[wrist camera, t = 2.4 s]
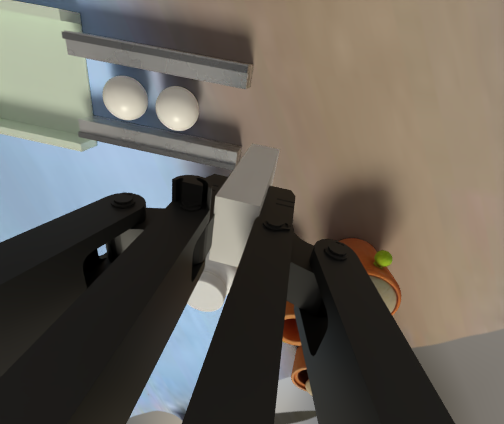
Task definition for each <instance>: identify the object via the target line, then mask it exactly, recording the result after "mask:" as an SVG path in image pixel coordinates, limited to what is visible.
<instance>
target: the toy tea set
mask: <svg viewBox="0 0 504 424" xmlns="http://www.w3.org/2000/svg"><path fill="white" fill-rule="evenodd" d="M339 242H342V243H344V244H346V245H347V246H348V247H350V248H351V249H353V251H354V252H355V253H356V254H357V256H358V257H359V259H360V261H361V263H362V264H363V266H364V268H365V270H366V271H367V273H368V275H369V276H370V278H371V280H372V282H373V283H374V285H375V287H376V289H377V290H378V292H379V294H380V295H381V297H382V299H383V301H384V302H385V304H386V306H387V307H388V309H389V311H390V313H391V314H392V315H393V314H394V313H395V312H396V311H397V309H398V308H399V306H400V302H401V291H400V288H399V285H398V284H397V282H396V280H395V279H394V277H393V276H392V274H391V273H390V271H389V270H388V268H387V267H386V266H389V265H390V264H391V263H392V256H391V254H390V253H389V252H387V251H384V250H381V251H379V252H377V251H376V250H375V249H374V248H373V246H372V245H370V244H369V243H368V242H366V241H364V240H361V239H356V238H348V239H343V240H340V241H339ZM282 341H283V342H285V343H288V344H291V345H298V346H299V347H298V348H297V350H296V355H295V360H294V365H293V370H292V375H291V378H292V382H293V383H294V384H295V385H296V386H297V387H298V388H300V389H302V390H304V391H307V392H308V393H309V394H311V396H312V391H311V387H310V382H309V378H308V373H307V368H306V364H305V359H304V355H303V350H302V346H301V341H300V336H299V332H298V327H297V323H296V318H295V313H294V304H292V303H290V302H288V301H286V311H285V321H284V330H283V340H282Z"/></svg>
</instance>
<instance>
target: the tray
mask: <svg viewBox="0 0 504 424" xmlns="http://www.w3.org/2000/svg"><path fill="white" fill-rule="evenodd" d="M64 30H66V31H74V32H82V25H81V18H80V13H76V12H72V11H67V10H62V9H57V8H52V7H46V6H41V5H35V4H30V3H24V2H19V1H13V0H0V134H4V135H9V136H13V137H18V138H23V139H27V140H32V141H36V142H41V143H45V144H50V145H54V146H59V147H63V148H68V149H72V150H77V151H81V152H82V151H85V150H87V149H90V148H92V147H95V146H97V141H95V140H90V139H86V138H81V137H79V135H78V132H80V127H79V121H78V119H80V118H84V117H88V116H92V115H93V109H92V101H91V93H90V86H89V78H88V71H87V63H86V58H82V57H77V56H72V55H68V52H67V46H66V40H65V39H63V38H62V32H61V31H63V32H64Z"/></svg>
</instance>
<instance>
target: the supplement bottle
mask: <svg viewBox="0 0 504 424" xmlns="http://www.w3.org/2000/svg"><path fill="white" fill-rule="evenodd" d="M209 254H210V250H209V252H208V254H207V256H206V261H205V268H204V271H203V273H202V275H201V277H200V279H199V281H198V283H197V285H196V286H195V288H194V290H193V292H192V294H191V296H190V298H189V300H188V302H187V303H188V304H189V305H190V306H191V307H193V308H195V309H197V310H200V311H205V312H211V311H215V310H217V309H219V308H220V307H221V306H222V304H223V302H224V299H225V297H226V295H227V294H228V293H229V290H230V288H231V285H232V282H233V279H234V276H235V274H236V271H237V268H238V267H235V266H231V265H227V264H223V263H219V262H215V261H211V260H209Z"/></svg>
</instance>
